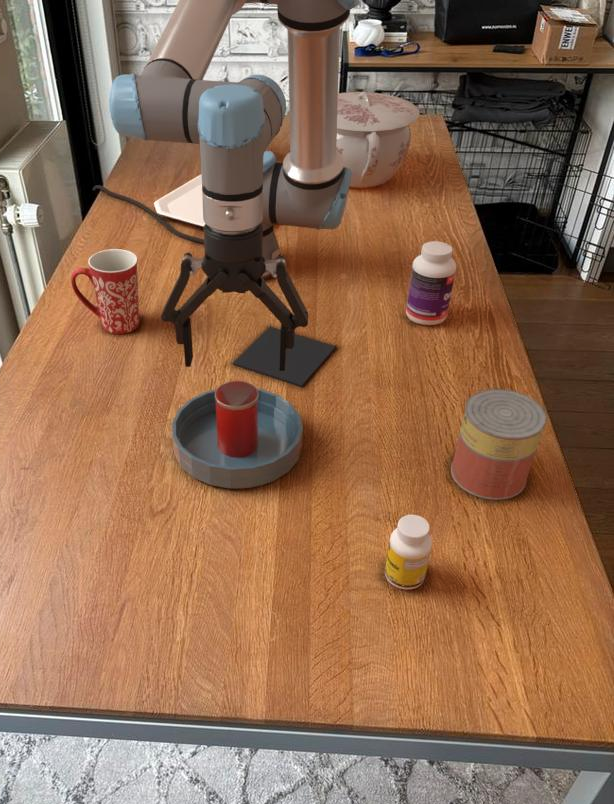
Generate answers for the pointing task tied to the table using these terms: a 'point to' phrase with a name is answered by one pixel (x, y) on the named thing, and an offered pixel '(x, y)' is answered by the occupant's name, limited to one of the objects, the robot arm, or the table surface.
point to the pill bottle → (431, 284)
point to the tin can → (237, 418)
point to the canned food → (497, 443)
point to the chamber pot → (373, 135)
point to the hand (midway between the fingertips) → (235, 363)
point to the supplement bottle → (408, 552)
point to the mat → (298, 359)
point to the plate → (183, 203)
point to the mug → (113, 289)
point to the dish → (211, 466)
